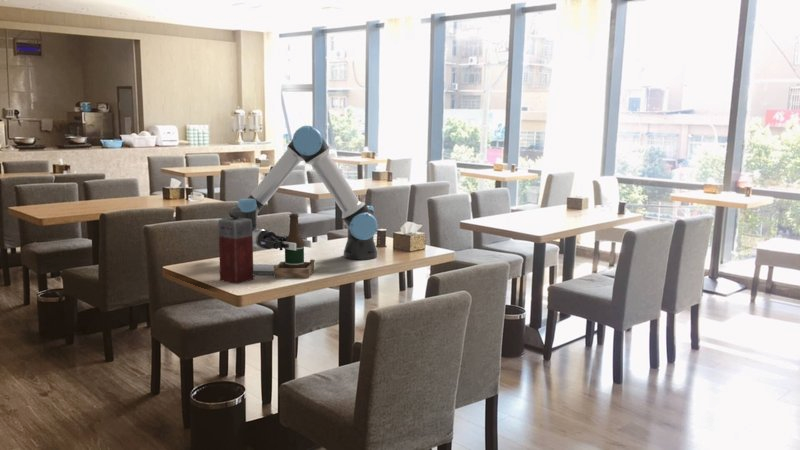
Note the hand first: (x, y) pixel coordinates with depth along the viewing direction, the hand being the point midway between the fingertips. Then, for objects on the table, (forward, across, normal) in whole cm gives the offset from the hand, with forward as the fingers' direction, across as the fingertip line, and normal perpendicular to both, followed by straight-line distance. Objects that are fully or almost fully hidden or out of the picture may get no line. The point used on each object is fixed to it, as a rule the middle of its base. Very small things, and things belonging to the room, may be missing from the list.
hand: (303, 245), depth 266 cm
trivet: (-18, +4, -12) cm, 22 cm away
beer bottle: (-5, 0, -12) cm, 13 cm away
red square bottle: (-15, +21, -12) cm, 29 cm away
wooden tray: (-5, 0, -12) cm, 13 cm away
